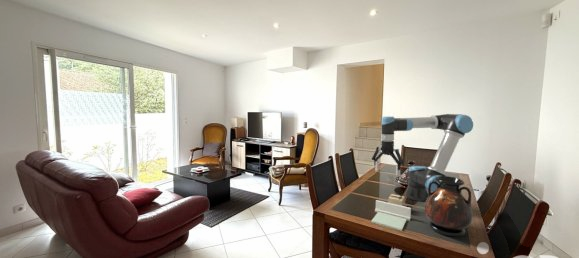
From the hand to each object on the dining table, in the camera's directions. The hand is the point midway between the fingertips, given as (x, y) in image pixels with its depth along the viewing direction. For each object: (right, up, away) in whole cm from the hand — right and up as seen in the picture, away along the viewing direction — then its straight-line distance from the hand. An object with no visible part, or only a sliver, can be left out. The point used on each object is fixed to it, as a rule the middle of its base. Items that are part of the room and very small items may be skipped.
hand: (386, 172), depth 152 cm
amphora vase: (+21, -26, -26) cm, 43 cm away
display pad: (-6, -25, -17) cm, 31 cm away
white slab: (0, -24, -8) cm, 26 cm away
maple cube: (+6, -24, -1) cm, 24 cm away
